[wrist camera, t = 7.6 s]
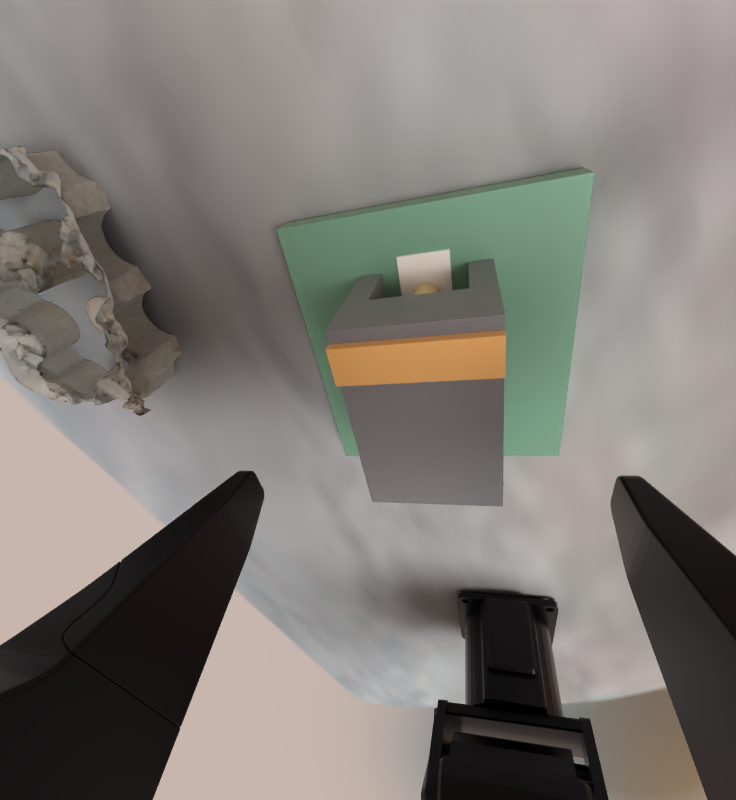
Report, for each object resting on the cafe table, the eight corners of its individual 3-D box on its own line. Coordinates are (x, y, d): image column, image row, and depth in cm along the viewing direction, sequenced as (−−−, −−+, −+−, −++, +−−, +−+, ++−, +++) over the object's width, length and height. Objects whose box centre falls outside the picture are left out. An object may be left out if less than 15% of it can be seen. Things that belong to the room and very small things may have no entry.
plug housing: (494, 422, 16) (503, 513, 13) (390, 424, 18) (370, 508, 14) (493, 258, 13) (505, 320, 9) (360, 276, 14) (321, 336, 10)
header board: (554, 437, 18) (570, 494, 15) (351, 439, 20) (334, 488, 18) (583, 167, 12) (619, 182, 9) (288, 222, 14) (248, 246, 12)
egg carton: (201, 377, 20) (153, 426, 17) (88, 375, 22) (24, 420, 19) (98, 138, 14) (-9, 145, 11) (-50, 160, 16) (-180, 172, 13)
